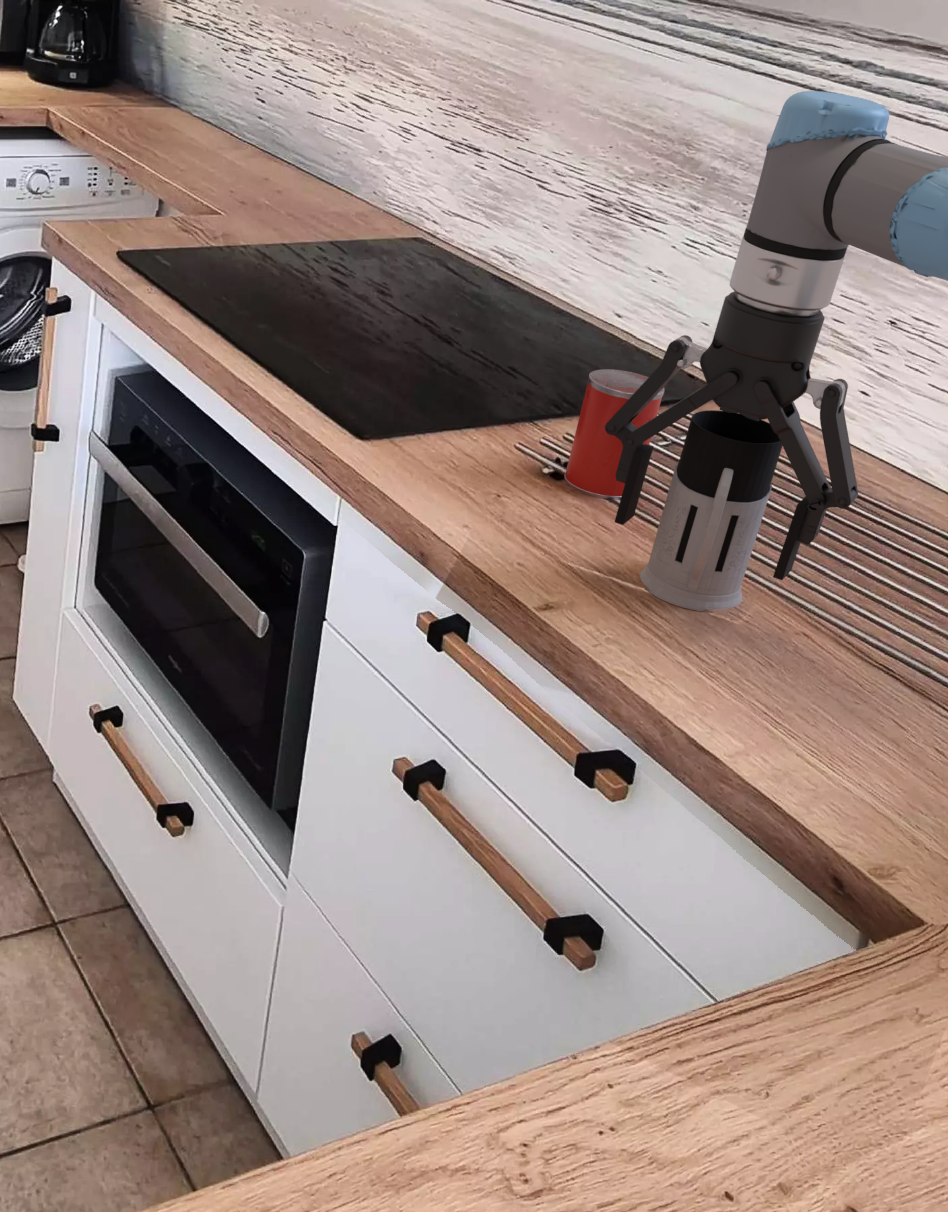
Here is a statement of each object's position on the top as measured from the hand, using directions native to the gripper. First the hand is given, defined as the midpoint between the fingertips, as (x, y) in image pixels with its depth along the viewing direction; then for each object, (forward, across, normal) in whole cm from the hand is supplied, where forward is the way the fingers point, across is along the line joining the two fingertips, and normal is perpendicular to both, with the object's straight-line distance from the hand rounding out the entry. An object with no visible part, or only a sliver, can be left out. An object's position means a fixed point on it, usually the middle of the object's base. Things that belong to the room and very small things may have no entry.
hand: (701, 546), depth 133 cm
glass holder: (+5, 0, 0) cm, 5 cm away
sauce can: (+5, -15, +19) cm, 25 cm away
